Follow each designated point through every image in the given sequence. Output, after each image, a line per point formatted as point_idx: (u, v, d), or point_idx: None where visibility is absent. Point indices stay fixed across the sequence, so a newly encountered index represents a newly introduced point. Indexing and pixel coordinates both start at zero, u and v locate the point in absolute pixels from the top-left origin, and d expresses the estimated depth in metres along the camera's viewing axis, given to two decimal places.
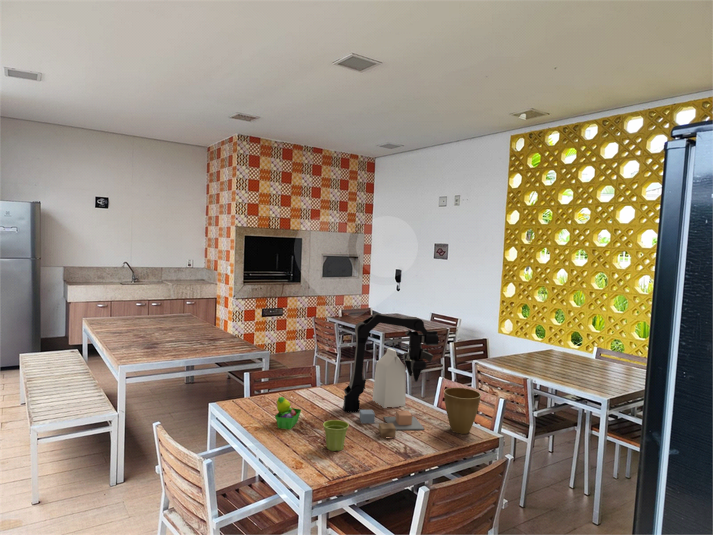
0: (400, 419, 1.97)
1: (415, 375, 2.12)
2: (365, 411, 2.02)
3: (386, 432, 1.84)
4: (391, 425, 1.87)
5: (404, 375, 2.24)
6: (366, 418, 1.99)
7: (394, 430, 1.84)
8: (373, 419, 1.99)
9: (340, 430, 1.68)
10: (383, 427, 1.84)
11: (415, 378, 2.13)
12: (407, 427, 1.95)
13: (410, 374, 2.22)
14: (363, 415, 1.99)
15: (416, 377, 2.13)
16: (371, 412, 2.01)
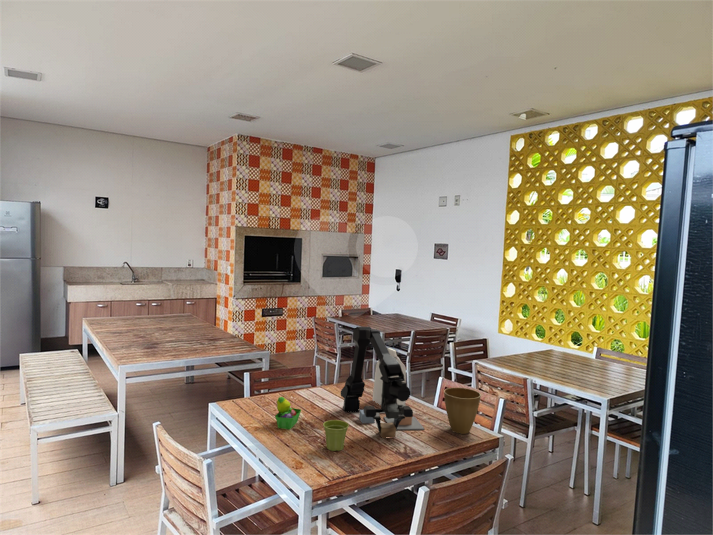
0: None
1: (377, 424, 1.87)
2: None
3: (386, 432, 1.84)
4: (391, 425, 1.87)
5: (404, 375, 2.24)
6: (366, 418, 1.99)
7: (394, 430, 1.84)
8: (373, 419, 1.99)
9: (340, 430, 1.68)
10: (384, 427, 1.84)
11: (378, 428, 1.87)
12: (407, 427, 1.95)
13: None
14: (363, 415, 1.99)
15: None
16: None
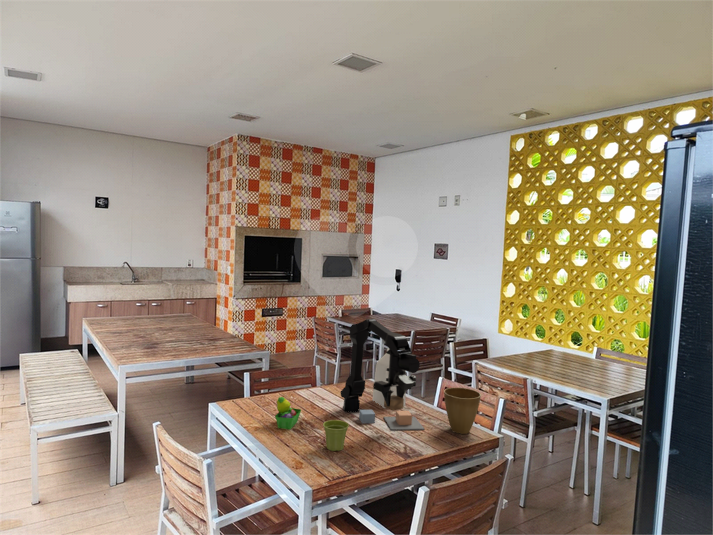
0: (400, 419, 1.97)
1: (385, 398, 1.89)
2: (365, 411, 2.02)
3: (397, 404, 1.88)
4: (396, 397, 1.92)
5: None
6: (366, 418, 1.99)
7: (402, 401, 1.90)
8: (373, 419, 2.00)
9: (340, 430, 1.68)
10: (394, 400, 1.88)
11: (386, 402, 1.89)
12: (407, 427, 1.95)
13: None
14: (363, 415, 1.99)
15: (386, 401, 1.89)
16: (371, 412, 2.01)
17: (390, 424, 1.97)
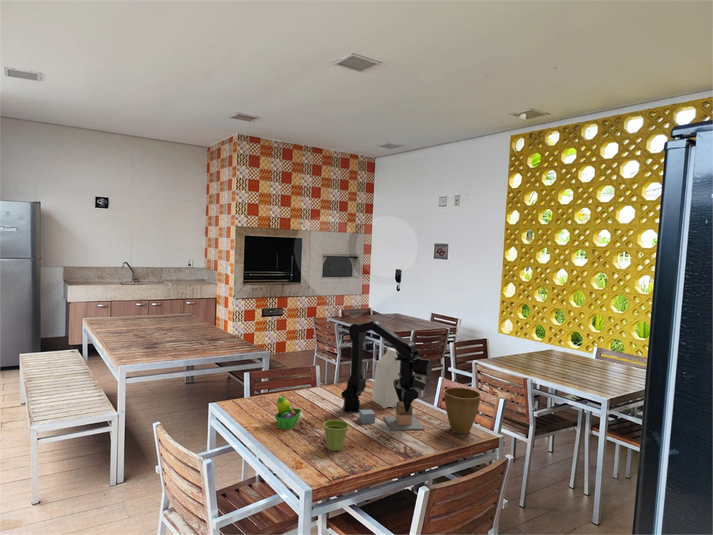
0: (400, 419, 1.97)
1: (406, 405, 1.95)
2: (365, 411, 2.02)
3: None
4: (402, 402, 2.02)
5: None
6: (366, 418, 1.99)
7: None
8: (373, 419, 2.00)
9: (340, 430, 1.68)
10: None
11: (406, 408, 1.95)
12: (407, 427, 1.95)
13: None
14: (364, 415, 1.99)
15: (407, 407, 1.95)
16: (371, 412, 2.01)
17: (390, 424, 1.97)
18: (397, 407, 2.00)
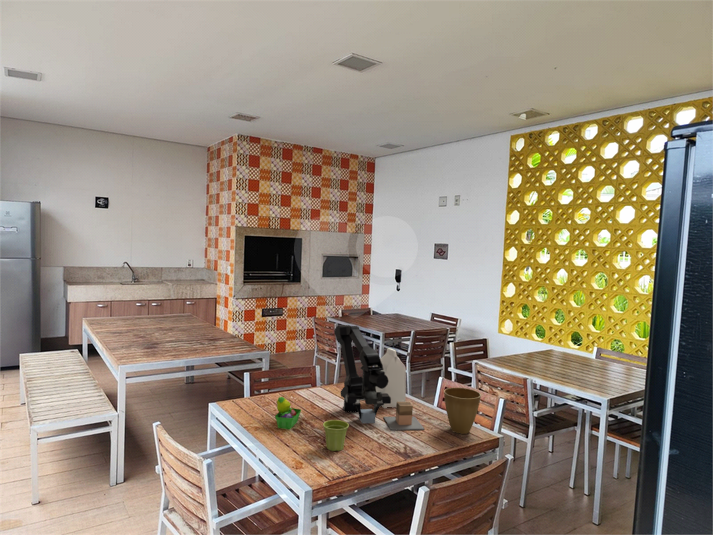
0: (400, 419, 1.97)
1: (357, 410, 2.02)
2: (365, 411, 2.02)
3: None
4: (402, 402, 2.02)
5: (404, 375, 2.24)
6: (367, 418, 1.99)
7: None
8: (374, 418, 2.00)
9: (340, 430, 1.68)
10: (410, 405, 1.99)
11: None
12: (407, 427, 1.95)
13: None
14: (364, 415, 1.98)
15: (358, 413, 2.01)
16: (371, 411, 2.01)
17: (390, 424, 1.97)
18: (397, 407, 2.00)
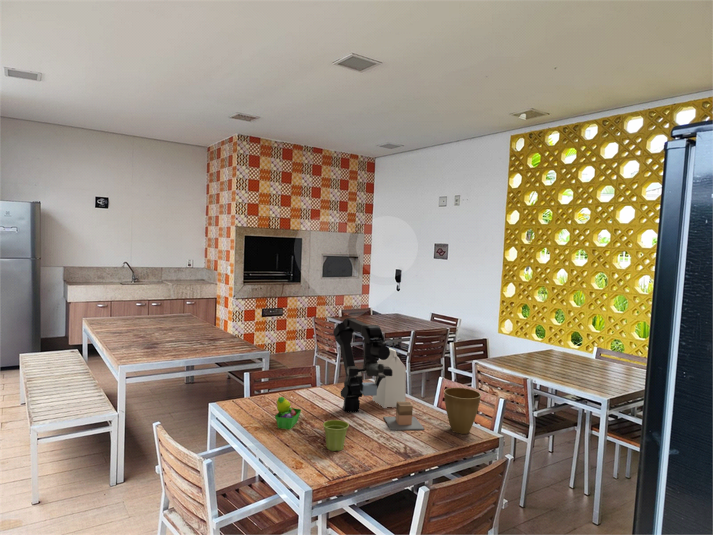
0: (400, 419, 1.97)
1: (359, 383, 2.01)
2: (367, 384, 2.01)
3: None
4: (402, 402, 2.02)
5: (404, 375, 2.24)
6: (368, 390, 1.98)
7: None
8: (375, 391, 1.99)
9: (340, 430, 1.68)
10: (410, 405, 1.99)
11: (360, 387, 2.01)
12: (407, 427, 1.95)
13: None
14: (365, 387, 1.98)
15: (360, 386, 2.01)
16: (373, 384, 2.01)
17: (390, 424, 1.97)
18: (397, 407, 2.00)
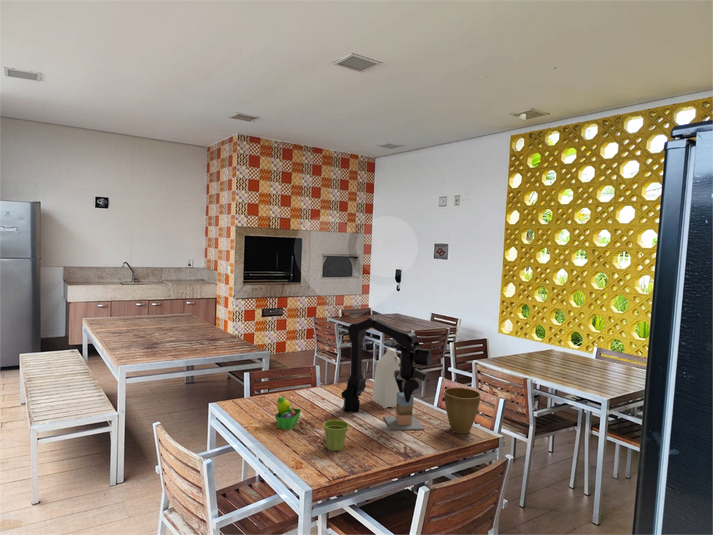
0: (400, 419, 1.97)
1: (406, 396, 1.95)
2: None
3: None
4: None
5: None
6: None
7: None
8: None
9: (340, 430, 1.68)
10: None
11: (406, 399, 1.95)
12: (407, 427, 1.95)
13: None
14: None
15: (407, 398, 1.95)
16: None
17: (390, 424, 1.97)
18: (397, 407, 2.00)
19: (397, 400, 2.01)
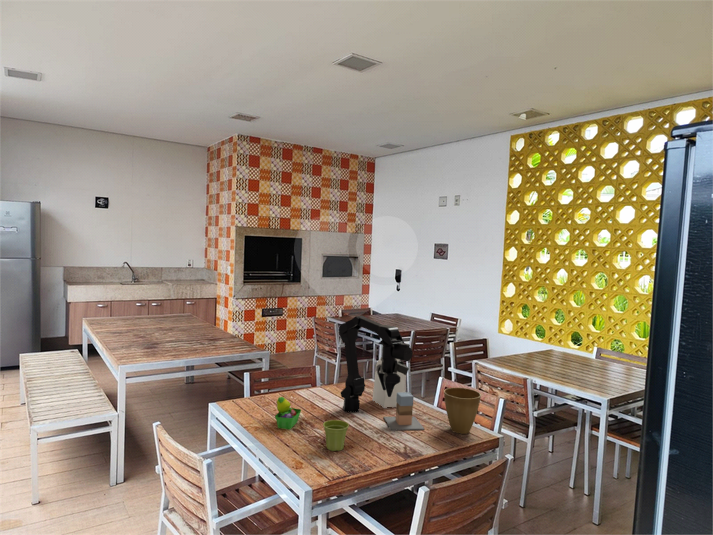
0: (400, 419, 1.97)
1: (388, 390, 1.93)
2: (404, 394, 1.99)
3: None
4: None
5: (404, 375, 2.24)
6: None
7: None
8: None
9: (340, 430, 1.68)
10: None
11: (388, 393, 1.93)
12: (407, 427, 1.95)
13: (384, 388, 2.03)
14: None
15: (389, 392, 1.93)
16: (405, 393, 2.02)
17: (390, 424, 1.97)
18: (397, 407, 2.00)
19: (397, 400, 2.01)
